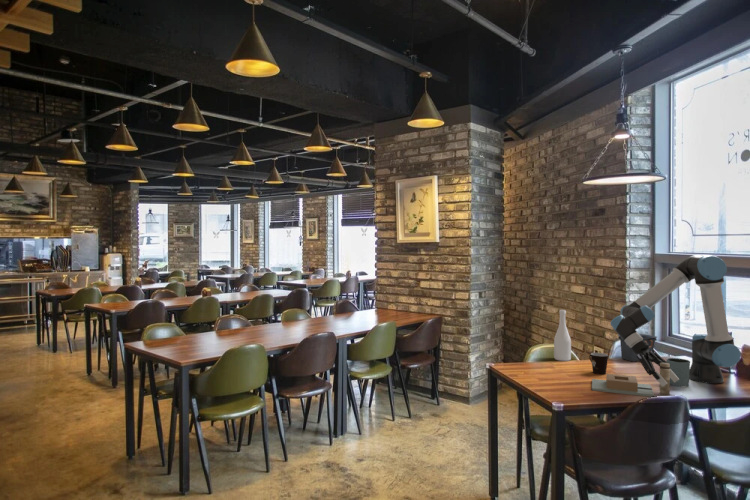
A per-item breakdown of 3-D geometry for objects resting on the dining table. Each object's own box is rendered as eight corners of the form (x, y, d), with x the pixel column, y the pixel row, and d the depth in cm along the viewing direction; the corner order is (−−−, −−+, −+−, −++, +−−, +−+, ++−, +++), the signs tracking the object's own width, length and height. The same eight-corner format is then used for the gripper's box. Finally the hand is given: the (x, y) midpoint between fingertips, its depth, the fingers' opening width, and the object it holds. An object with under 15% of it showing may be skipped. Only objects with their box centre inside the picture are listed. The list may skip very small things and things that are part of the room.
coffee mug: (610, 375, 263) (610, 356, 263) (592, 374, 265) (592, 355, 265) (604, 369, 274) (604, 351, 274) (587, 369, 276) (587, 351, 276)
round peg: (669, 392, 232) (669, 363, 232) (670, 395, 228) (670, 365, 228) (659, 391, 233) (659, 362, 233) (660, 394, 230) (660, 364, 230)
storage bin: (640, 355, 310) (640, 332, 310) (663, 361, 296) (663, 337, 295) (614, 358, 302) (615, 335, 302) (636, 364, 288) (636, 339, 288)
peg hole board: (650, 386, 242) (650, 376, 242) (654, 397, 226) (654, 386, 225) (592, 380, 253) (592, 371, 253) (591, 390, 236) (591, 379, 236)
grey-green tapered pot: (678, 387, 240) (678, 363, 240) (661, 382, 250) (661, 358, 250) (695, 386, 243) (695, 361, 243) (677, 380, 253) (677, 357, 253)
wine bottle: (571, 361, 294) (571, 311, 293) (554, 360, 297) (554, 310, 296) (570, 358, 303) (570, 309, 302) (553, 357, 306) (554, 308, 305)
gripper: (643, 345, 250) (676, 383, 237) (619, 351, 236) (652, 391, 224) (654, 336, 246) (688, 374, 233) (630, 342, 232) (665, 382, 219)
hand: (671, 382), depth 228 cm, fingers open, 11 cm apart
